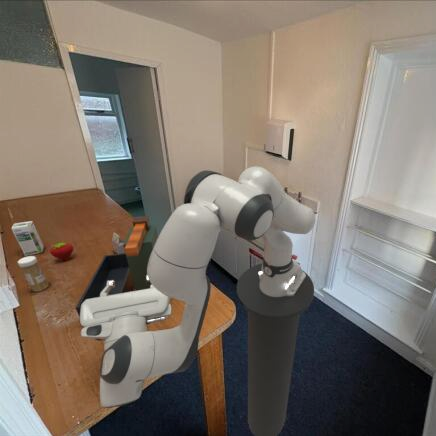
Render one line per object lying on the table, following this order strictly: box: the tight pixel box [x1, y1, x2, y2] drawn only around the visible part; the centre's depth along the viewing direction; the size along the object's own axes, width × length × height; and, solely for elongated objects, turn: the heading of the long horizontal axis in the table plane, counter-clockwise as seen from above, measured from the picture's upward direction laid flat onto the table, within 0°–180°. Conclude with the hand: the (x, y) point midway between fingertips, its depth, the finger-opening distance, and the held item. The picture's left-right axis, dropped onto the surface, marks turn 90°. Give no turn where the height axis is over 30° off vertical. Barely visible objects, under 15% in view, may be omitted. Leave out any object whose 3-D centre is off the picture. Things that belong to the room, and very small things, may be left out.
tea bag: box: [110, 232, 125, 254], centre depth 111 cm, size 4×7×10 cm, turn 55°
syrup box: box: [11, 220, 45, 257], centre depth 105 cm, size 6×6×14 cm
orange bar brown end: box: [125, 215, 151, 257], centre depth 77 cm, size 20×4×4 cm, turn 21°
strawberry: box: [49, 241, 74, 261], centre depth 103 cm, size 6×8×10 cm
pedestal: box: [123, 225, 159, 291], centre depth 87 cm, size 12×8×26 cm, turn 21°
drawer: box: [75, 253, 135, 318], centre depth 89 cm, size 30×12×8 cm, turn 21°
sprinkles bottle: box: [17, 255, 50, 293], centre depth 86 cm, size 5×5×13 cm
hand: (131, 277), depth 67 cm, fingers open, 8 cm apart
